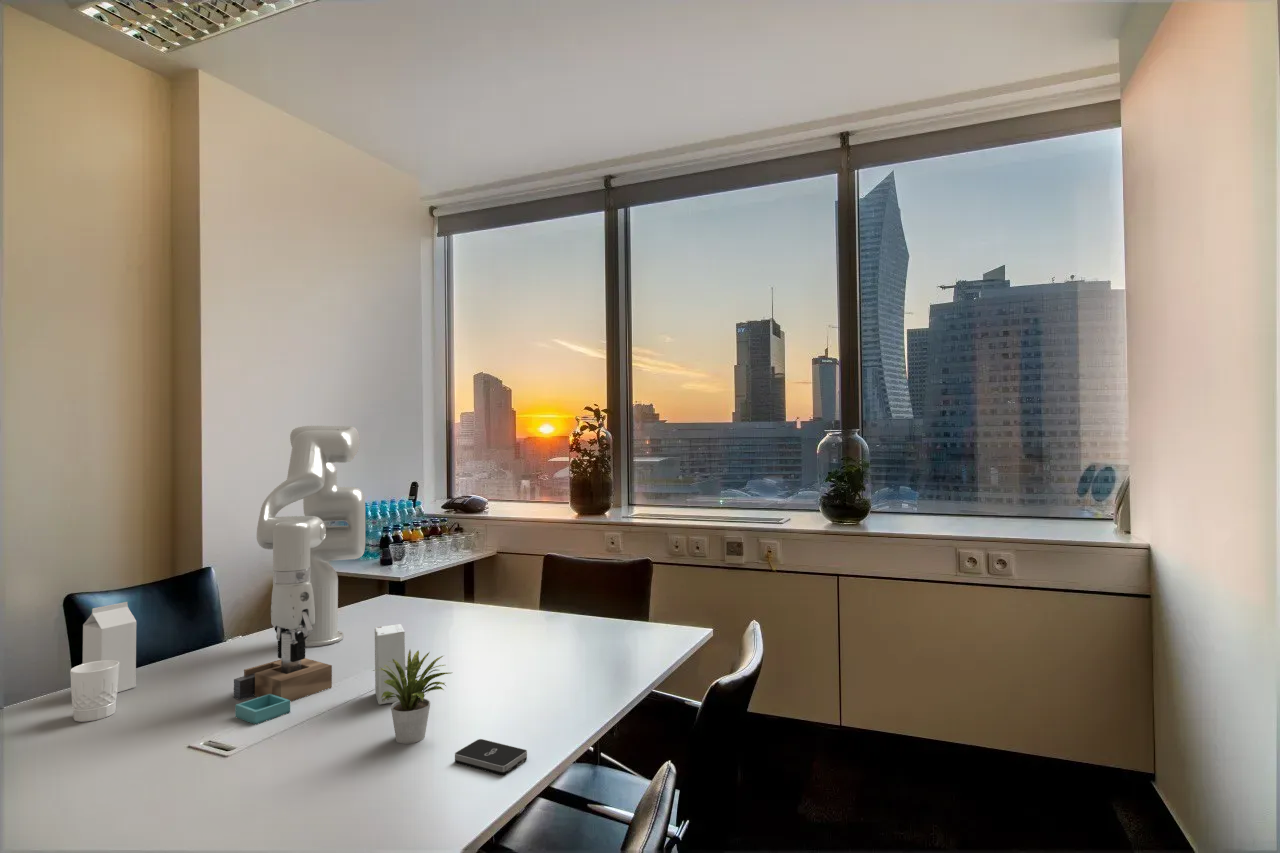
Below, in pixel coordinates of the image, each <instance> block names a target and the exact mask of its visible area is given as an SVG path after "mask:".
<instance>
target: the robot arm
mask: <svg viewBox="0 0 1280 853" xmlns="http://www.w3.org/2000/svg"><path fill="white" fill-rule="evenodd" d="M289 436H290V438H289V439H290V441H289V442H290V445H291V452H290V459H289V464H288V470H287V476H286V477H287V478H286V479H285V480H284V481H282V482H281V483H280V484H279V485H277V486H276V487H275V488H274V489H273V490H272V491H271V492H270V493H269V494H268V495H267V496H266V498H265V499H264V501H263V503H262V505H261V507H260V511H259V516H258V522H257V527H256V541H257V544H258V545H259V547H260V548H262V549H265V550H272V585H273V586H272V589H271V590H272V591H271V601H270V602H271V603H270V618H271V625H272V627H273V628H274V631H275V633H276V634H275V635H276V636H275V637H276V640H277V658H278V659H281V644H282V632H284V631H288V630H291V634H292V644H290V661H291V662H295V661H299V660H302V659H304V658H306V647H307V648H310V647H320V646H327V645H332V644H335V643H338V642H341V641H342V640H343V639H344V637H345V636H344V633H343V632H342V631H340V630H339V628H338V627H339V626H338V623H339V622H338V616H339V615H338V612H339V610H338V609H339V606H338V605H339V600H338V599H339V577H338V573H337V571H336V569H335V568H334V567H333V566H332V565H331V564H330V562H331V561H347V560H348V561H349V560H357V559H360V558H361V557H363V555H364V554H365V551H366V550H365V549H366V500H365V495H364V493H363V492H364V491H363V490H361V489H360V488H358V487H354V486H338V484H337V483H338V482H337V481H338V480H337V479H338V477H337V475H338V474H337V473H338V470H337V468H336V466H335V464H334V463H336V464H338V463H339V464H340V463H341V464H342V463H343V464H344V463H349V462H351V461H352V460H353V459H354V458H355V456H356V455H357V453H358V452H359V450H360V443H361V442H360V440H361V439H360V434H359V431H358V430H357V428H356V427H355V426H351V425H302V426H298V427H295V428H293V429H292V430H291V432H290V435H289ZM300 500H303V501H302V504H303V505H302V506H303V516H302V515H299V516H298V515H294V516H293V515H290V516H289V515H287V516H277V514H278V513H279V512H280V511H281V510H282V509H284V508H285V507H286V506H289V505H291V504H293V503H296V502H298V501H300ZM324 522H346V523H347V525H326V524H325V523H324ZM298 631H301V632H300V633H299V634H298V635H297V632H298Z"/></svg>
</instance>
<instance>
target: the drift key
mask: <svg viewBox="0 0 1280 853" xmlns="http://www.w3.org/2000/svg"><path fill="white" fill-rule="evenodd" d="M253 696H255V673H253V674H250V675H246V676H244V675H243V676H239V677H236V678H233V698H234V699H236V700H239V701H240V700H244V699H246V698H250V697H253ZM243 698H244V699H243Z"/></svg>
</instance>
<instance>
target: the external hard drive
mask: <svg viewBox="0 0 1280 853" xmlns="http://www.w3.org/2000/svg"><path fill="white" fill-rule="evenodd" d="M527 760H528V750H527V749H524V748H520V747H516V746H512V745H508V744H504V743H500V742H495V741H492V740H487V739H484V738H478V739H476V740H474V741H473V742H471V743H469V744H467V745H466V746H464V747H463V748H461V749H458V750H457V751H456V752H455V753H454V763H455V764H458V765H462V766H465V767H469V768H472V769H476V770H479V771H484V772H487V773H490V774H495V775H499V776H502V777H503V776H506V775H507V774H509V773H510V772H512V771H513V770H515V769H516V768H518V767H520V766H521V765H522V764H523V763H525V762H526V761H527Z"/></svg>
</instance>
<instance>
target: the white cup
mask: <svg viewBox="0 0 1280 853" xmlns="http://www.w3.org/2000/svg"><path fill="white" fill-rule="evenodd" d="M118 676H119V662H118V661H115V660H103V661H95V662H89V663H85V664H83V663H81V664H79V665H76V666H74V667H72V668H70V692H71V693H70V694H71V707H72V713H73V714H72V717H73V718H72V719H73V721H74V722H79V723H80V722H82V723H83V722H84V723H85V722H94V721H99V720H102V719H105V718H108V717H110V716H112V715H113V714H115V712H117V711H116V709H117V707H116V706H117V697H118V692H117V689H118Z"/></svg>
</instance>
